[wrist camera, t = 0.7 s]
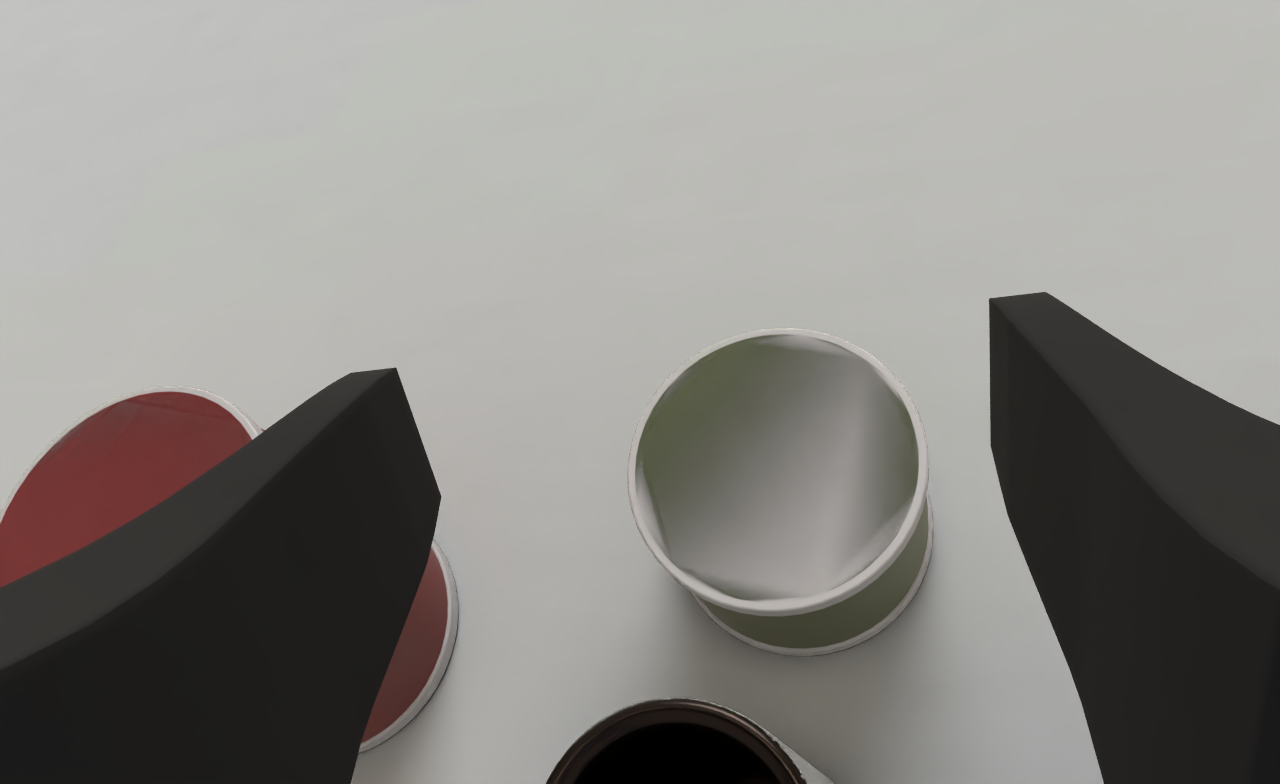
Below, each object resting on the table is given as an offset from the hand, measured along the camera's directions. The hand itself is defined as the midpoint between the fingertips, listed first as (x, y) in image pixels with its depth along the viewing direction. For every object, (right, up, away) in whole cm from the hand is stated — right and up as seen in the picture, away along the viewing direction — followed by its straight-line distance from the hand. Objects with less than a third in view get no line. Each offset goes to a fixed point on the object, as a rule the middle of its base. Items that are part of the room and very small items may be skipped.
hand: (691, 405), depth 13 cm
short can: (+4, -3, +15) cm, 15 cm away
